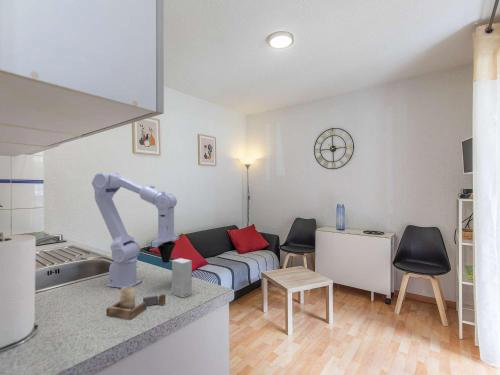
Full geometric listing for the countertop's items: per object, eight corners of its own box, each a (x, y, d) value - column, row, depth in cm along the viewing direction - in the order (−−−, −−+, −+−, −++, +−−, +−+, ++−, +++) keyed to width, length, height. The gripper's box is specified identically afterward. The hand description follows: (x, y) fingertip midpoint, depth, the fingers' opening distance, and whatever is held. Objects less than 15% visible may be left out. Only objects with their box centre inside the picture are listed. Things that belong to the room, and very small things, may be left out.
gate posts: (121, 299, 88) (121, 290, 88) (124, 297, 90) (124, 289, 90) (162, 305, 84) (162, 296, 84) (165, 303, 85) (165, 294, 85)
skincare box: (192, 294, 93) (192, 260, 93) (182, 298, 90) (183, 263, 90) (180, 290, 97) (180, 257, 97) (171, 294, 93) (171, 260, 93)
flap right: (159, 302, 86) (159, 294, 86) (159, 303, 85) (159, 295, 85) (143, 305, 84) (143, 297, 84) (143, 306, 83) (143, 298, 83)
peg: (117, 314, 78) (117, 291, 78) (125, 308, 82) (125, 286, 82) (130, 315, 78) (130, 291, 78) (137, 309, 82) (137, 286, 82)
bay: (106, 315, 77) (106, 307, 77) (123, 305, 84) (123, 297, 84) (130, 319, 75) (130, 311, 75) (146, 308, 82) (146, 301, 82)
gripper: (164, 229, 91) (163, 268, 91) (185, 224, 105) (185, 258, 105) (146, 228, 93) (146, 267, 93) (170, 223, 107) (169, 256, 107)
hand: (165, 262), depth 99 cm, fingers closed
